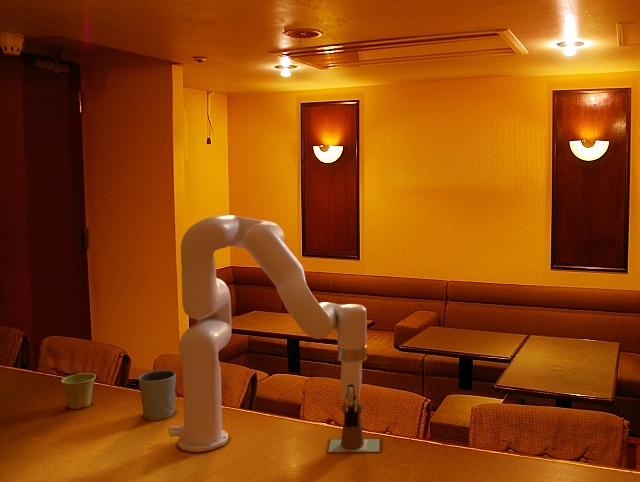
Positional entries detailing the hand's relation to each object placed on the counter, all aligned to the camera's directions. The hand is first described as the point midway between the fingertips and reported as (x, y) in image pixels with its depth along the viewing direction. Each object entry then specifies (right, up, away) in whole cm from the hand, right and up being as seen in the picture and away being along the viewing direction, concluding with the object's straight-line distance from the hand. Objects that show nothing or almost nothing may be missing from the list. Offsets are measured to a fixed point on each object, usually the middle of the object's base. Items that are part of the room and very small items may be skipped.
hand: (352, 421), depth 157 cm
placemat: (+1, -7, 0) cm, 7 cm away
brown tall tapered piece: (0, -6, 0) cm, 6 cm away
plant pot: (-86, -5, +29) cm, 91 cm away
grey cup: (-59, -6, +21) cm, 63 cm away
